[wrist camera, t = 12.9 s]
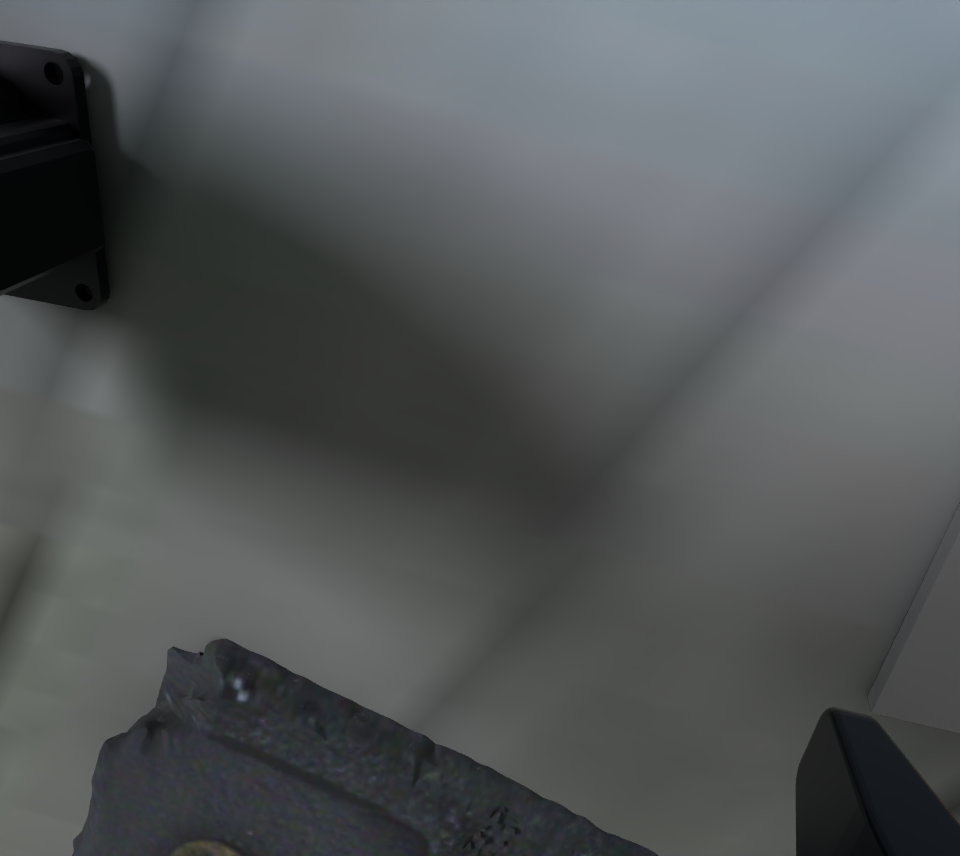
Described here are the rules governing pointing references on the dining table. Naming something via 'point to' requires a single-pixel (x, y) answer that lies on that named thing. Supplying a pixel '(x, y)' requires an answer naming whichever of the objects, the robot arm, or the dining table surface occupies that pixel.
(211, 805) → the dark slate chunk
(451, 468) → the dining table surface
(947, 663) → the charcoal mat
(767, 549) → the dining table surface
